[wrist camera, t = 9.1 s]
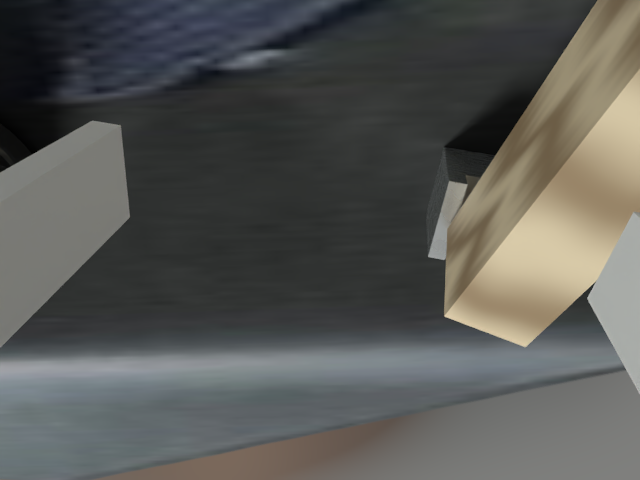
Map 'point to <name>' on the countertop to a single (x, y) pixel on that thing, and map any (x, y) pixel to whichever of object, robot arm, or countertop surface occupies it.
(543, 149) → the rail
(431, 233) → the block
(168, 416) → the countertop surface
